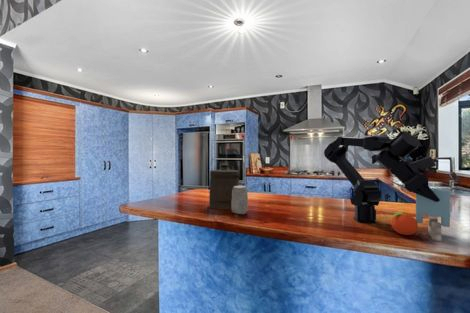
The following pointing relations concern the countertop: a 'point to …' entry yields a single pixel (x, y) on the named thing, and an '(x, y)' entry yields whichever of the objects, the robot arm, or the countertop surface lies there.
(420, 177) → the robot arm
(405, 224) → the clementine
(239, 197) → the carving
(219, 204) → the wooden container
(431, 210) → the teal slotted plate
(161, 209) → the countertop surface
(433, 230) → the birch slotted plate
